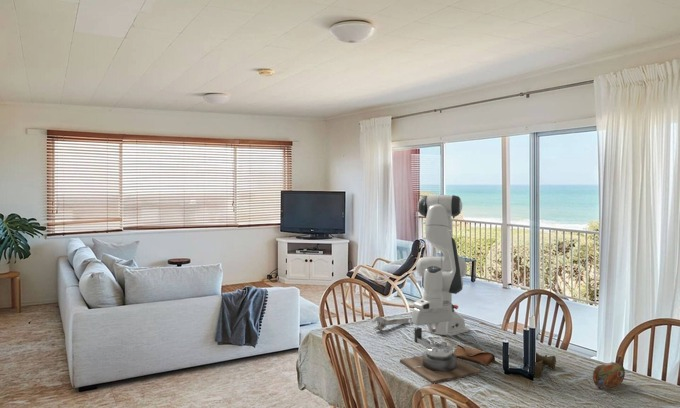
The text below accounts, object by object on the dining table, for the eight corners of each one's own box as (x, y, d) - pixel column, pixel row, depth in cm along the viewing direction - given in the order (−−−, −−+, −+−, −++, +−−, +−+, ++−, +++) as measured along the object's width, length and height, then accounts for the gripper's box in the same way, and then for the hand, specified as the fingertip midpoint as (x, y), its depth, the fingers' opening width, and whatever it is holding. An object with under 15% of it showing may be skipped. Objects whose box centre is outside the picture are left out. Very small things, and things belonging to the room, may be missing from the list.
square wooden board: (445, 353, 215) (445, 342, 215) (481, 373, 194) (481, 361, 193) (399, 361, 205) (399, 350, 205) (432, 383, 184) (432, 370, 183)
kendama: (522, 375, 193) (534, 359, 209) (547, 382, 187) (558, 364, 203) (522, 361, 192) (535, 346, 209) (548, 367, 187) (558, 351, 203)
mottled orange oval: (598, 390, 178) (599, 368, 177) (590, 387, 181) (591, 365, 180) (625, 383, 184) (626, 362, 183) (617, 380, 187) (618, 359, 186)
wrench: (411, 327, 263) (373, 332, 244) (408, 326, 265) (370, 331, 245) (412, 313, 263) (374, 316, 244) (410, 312, 265) (372, 316, 245)
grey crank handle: (458, 357, 196) (458, 341, 196) (436, 361, 192) (436, 345, 192) (426, 340, 218) (426, 326, 217) (405, 343, 213) (405, 329, 213)
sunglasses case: (448, 356, 212) (452, 341, 214) (454, 360, 217) (458, 345, 219) (487, 366, 201) (491, 351, 203) (493, 370, 205) (496, 355, 208)
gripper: (447, 298, 223) (446, 327, 224) (410, 303, 215) (410, 333, 216) (455, 301, 218) (455, 331, 218) (418, 306, 209) (418, 337, 210)
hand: (432, 332), depth 217 cm, fingers closed
